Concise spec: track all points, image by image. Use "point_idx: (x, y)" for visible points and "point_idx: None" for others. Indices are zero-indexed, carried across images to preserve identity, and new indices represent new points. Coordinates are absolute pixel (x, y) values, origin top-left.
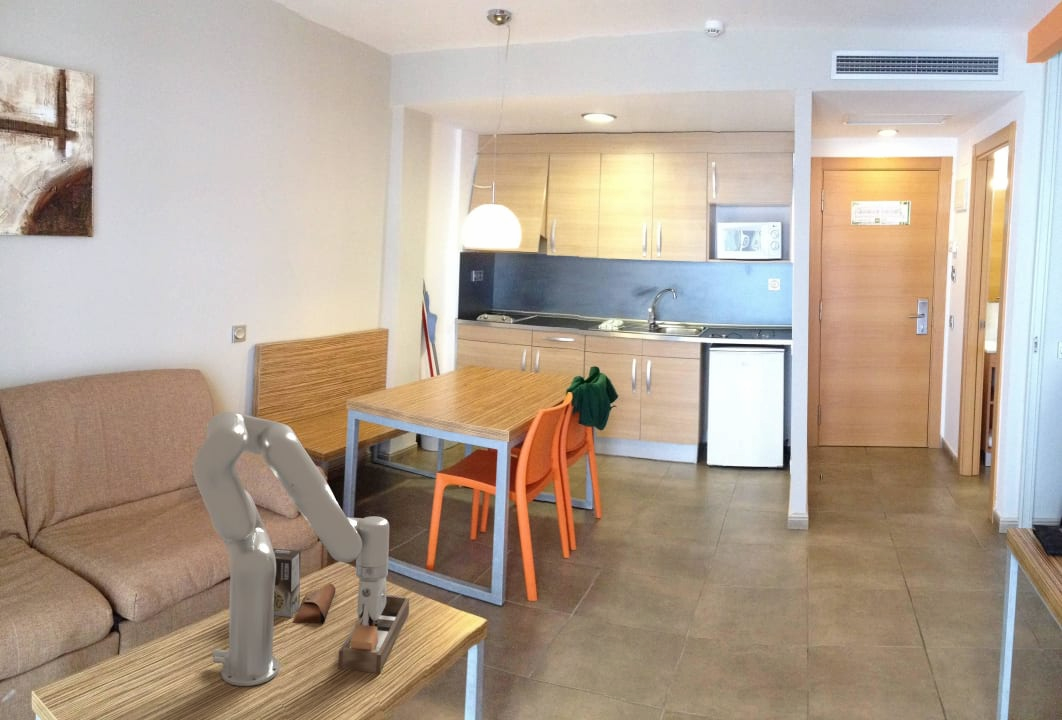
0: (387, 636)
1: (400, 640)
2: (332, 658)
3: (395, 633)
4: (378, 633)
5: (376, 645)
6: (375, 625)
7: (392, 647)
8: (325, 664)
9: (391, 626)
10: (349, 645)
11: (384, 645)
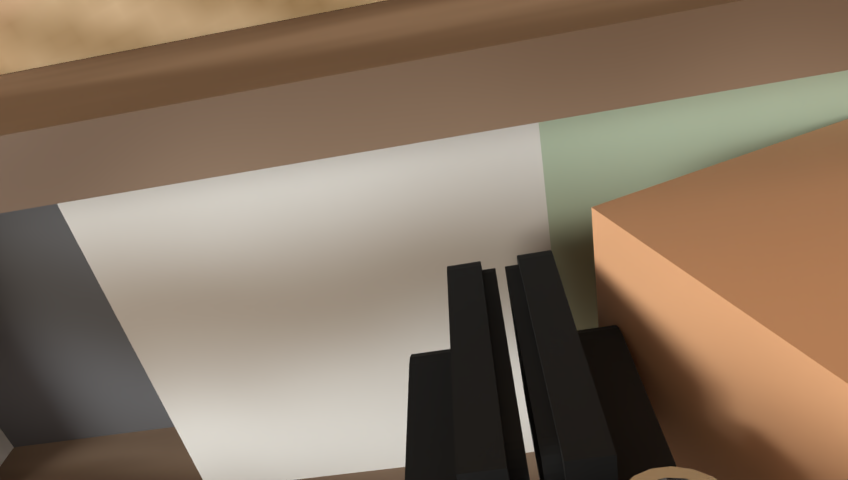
0: (400, 121)
1: (10, 7)
2: None
3: (32, 94)
4: (190, 303)
5: (688, 181)
6: (525, 475)
7: (239, 29)
8: None
9: (22, 206)
10: None
11: (774, 25)
